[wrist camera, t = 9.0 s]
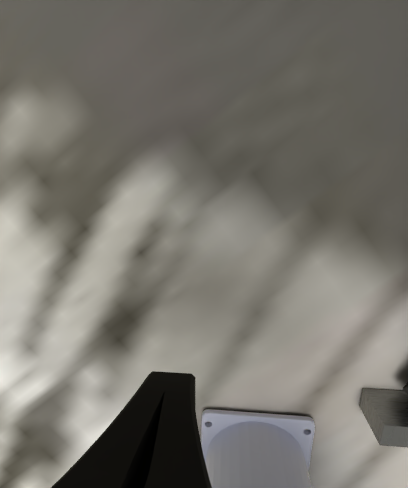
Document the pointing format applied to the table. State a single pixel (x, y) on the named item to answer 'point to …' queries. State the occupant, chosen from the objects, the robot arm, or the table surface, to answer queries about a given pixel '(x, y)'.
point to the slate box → (386, 415)
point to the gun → (406, 388)
